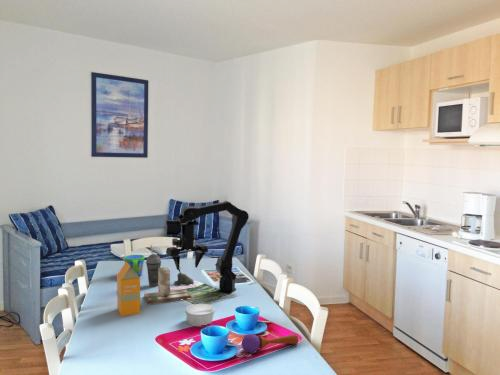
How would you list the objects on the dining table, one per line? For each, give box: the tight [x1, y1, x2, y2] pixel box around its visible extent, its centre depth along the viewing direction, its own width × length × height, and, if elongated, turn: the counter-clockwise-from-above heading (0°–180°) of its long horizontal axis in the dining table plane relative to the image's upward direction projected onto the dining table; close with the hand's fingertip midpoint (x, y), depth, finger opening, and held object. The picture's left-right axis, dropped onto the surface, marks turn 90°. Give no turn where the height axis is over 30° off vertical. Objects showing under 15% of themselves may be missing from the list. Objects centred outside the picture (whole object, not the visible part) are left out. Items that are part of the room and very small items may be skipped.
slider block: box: [157, 266, 171, 297], centre depth 189 cm, size 4×8×11 cm, turn 23°
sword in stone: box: [174, 265, 195, 286], centre depth 213 cm, size 10×8×12 cm
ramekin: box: [185, 303, 215, 327], centre depth 165 cm, size 11×11×5 cm
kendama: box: [241, 333, 299, 354], centre depth 144 cm, size 6×6×20 cm
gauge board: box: [143, 288, 192, 305], centre depth 191 cm, size 19×10×2 cm, turn 113°
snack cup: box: [123, 254, 146, 277], centre depth 224 cm, size 16×10×10 cm
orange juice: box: [116, 261, 141, 317], centre depth 174 cm, size 8×9×20 cm
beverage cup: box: [145, 244, 162, 288], centre depth 208 cm, size 7×7×20 cm
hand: (187, 268), depth 194 cm, fingers open, 9 cm apart
